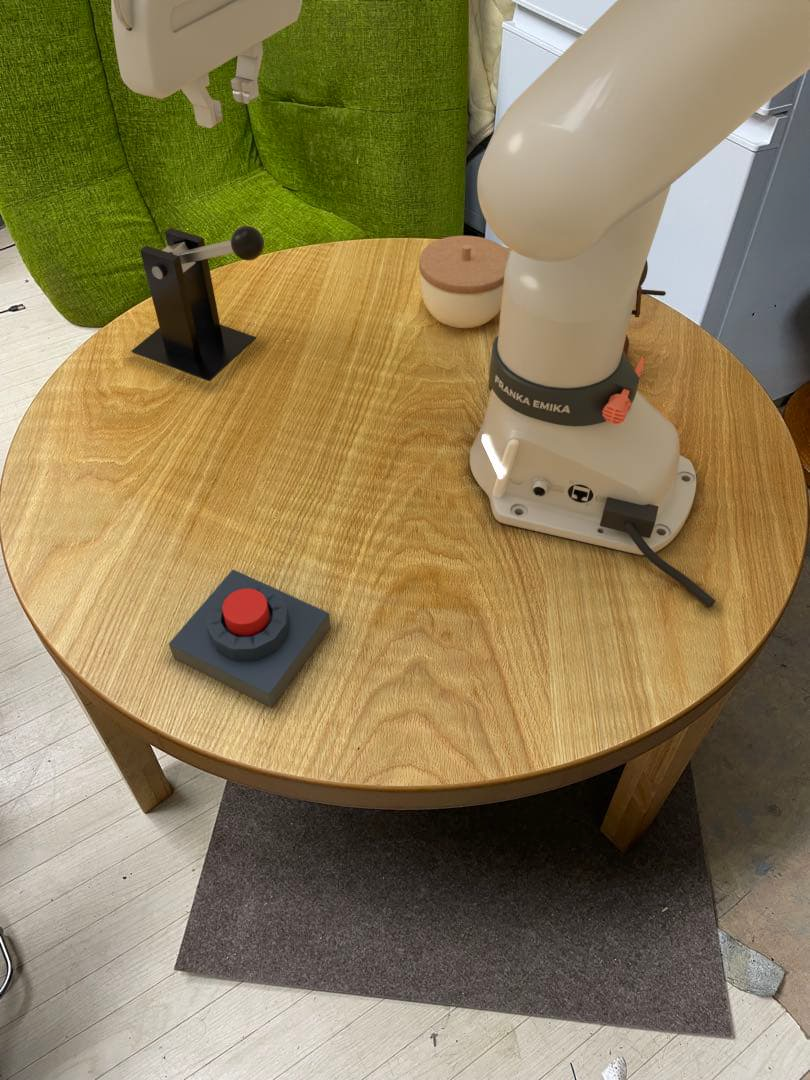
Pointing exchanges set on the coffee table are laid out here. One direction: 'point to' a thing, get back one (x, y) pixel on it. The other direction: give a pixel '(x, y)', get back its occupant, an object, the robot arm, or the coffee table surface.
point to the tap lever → (222, 248)
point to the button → (246, 612)
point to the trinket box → (463, 280)
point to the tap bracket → (187, 314)
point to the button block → (252, 641)
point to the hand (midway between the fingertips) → (228, 111)
